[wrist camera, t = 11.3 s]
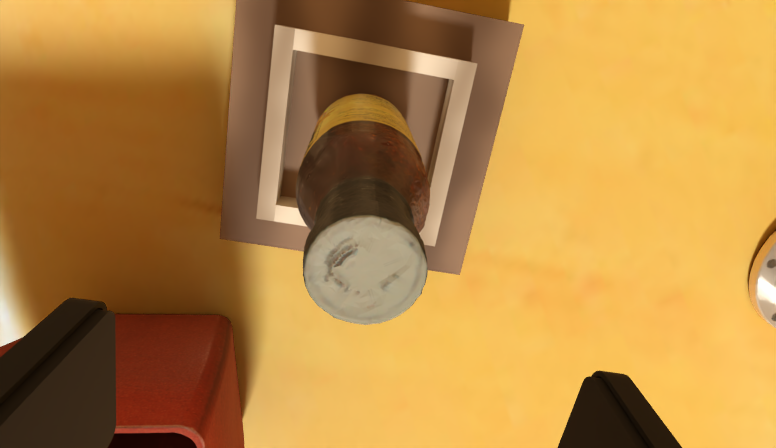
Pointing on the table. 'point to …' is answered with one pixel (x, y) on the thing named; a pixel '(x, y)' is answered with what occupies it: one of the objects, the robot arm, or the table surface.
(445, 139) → the condiment stand
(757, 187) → the table surface
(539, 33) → the table surface
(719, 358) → the table surface
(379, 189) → the sauce bottle
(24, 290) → the table surface
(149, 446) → the plant pot
